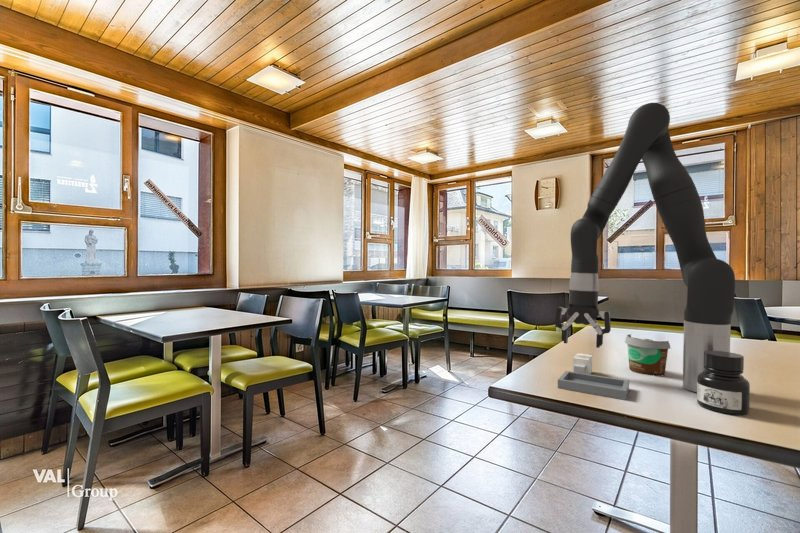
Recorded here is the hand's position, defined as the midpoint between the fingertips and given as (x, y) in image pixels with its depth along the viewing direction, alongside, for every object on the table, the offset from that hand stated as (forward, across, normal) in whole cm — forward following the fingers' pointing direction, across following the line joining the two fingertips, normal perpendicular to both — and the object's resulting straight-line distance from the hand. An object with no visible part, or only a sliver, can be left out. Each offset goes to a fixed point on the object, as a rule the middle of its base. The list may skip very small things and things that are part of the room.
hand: (581, 345), depth 112 cm
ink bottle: (+8, -30, +11) cm, 33 cm away
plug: (+8, -1, +1) cm, 8 cm away
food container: (+8, -15, -12) cm, 21 cm away
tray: (+8, -5, +13) cm, 16 cm away
